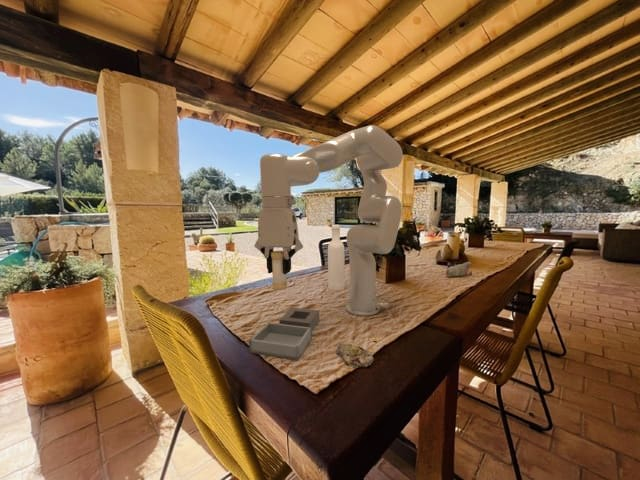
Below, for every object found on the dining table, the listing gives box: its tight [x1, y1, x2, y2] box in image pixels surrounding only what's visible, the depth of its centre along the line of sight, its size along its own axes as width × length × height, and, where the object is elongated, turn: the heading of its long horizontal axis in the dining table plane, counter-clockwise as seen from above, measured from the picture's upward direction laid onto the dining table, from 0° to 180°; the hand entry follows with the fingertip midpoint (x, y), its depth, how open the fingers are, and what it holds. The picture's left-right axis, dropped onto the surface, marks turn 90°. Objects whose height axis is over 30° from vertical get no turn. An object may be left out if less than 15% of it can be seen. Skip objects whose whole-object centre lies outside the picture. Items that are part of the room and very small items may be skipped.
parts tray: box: [248, 322, 313, 361], centre depth 72 cm, size 14×11×4 cm
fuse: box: [271, 250, 288, 291], centre depth 69 cm, size 4×4×10 cm
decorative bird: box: [445, 261, 473, 279], centre depth 138 cm, size 5×16×8 cm, turn 109°
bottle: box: [327, 224, 346, 292], centre depth 120 cm, size 8×8×30 cm
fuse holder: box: [278, 307, 320, 331], centre depth 84 cm, size 10×10×4 cm
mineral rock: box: [336, 342, 374, 369], centre depth 66 cm, size 11×4×8 cm
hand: (279, 271), depth 69 cm, fingers closed on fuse, 3 cm apart
